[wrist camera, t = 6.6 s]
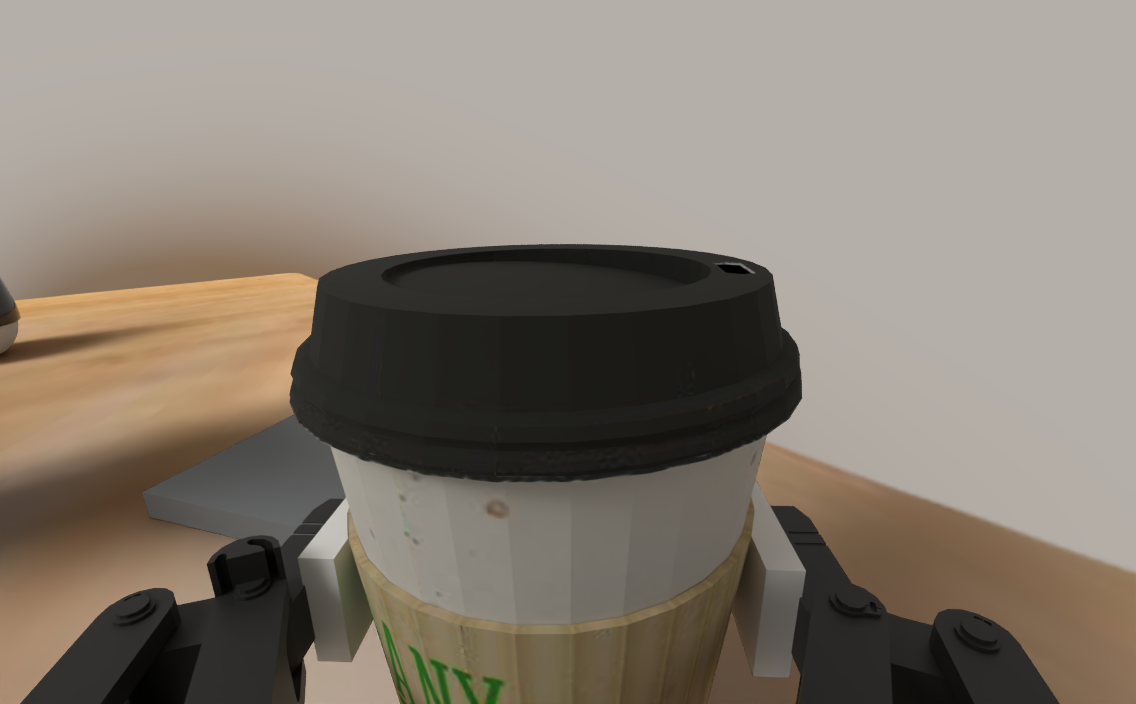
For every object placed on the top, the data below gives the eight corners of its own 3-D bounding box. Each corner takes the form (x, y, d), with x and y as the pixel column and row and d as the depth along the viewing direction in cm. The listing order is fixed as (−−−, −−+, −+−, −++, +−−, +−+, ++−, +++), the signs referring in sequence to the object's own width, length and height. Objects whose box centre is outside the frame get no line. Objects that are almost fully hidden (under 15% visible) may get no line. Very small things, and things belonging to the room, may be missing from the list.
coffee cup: (447, 637, 20) (407, 241, 16) (707, 657, 19) (746, 242, 15) (294, 1025, 11) (87, 323, 6) (787, 1105, 10) (959, 340, 5)
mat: (149, 516, 28) (142, 492, 27) (353, 402, 42) (350, 385, 42) (491, 601, 22) (489, 571, 21) (592, 435, 36) (592, 415, 36)
